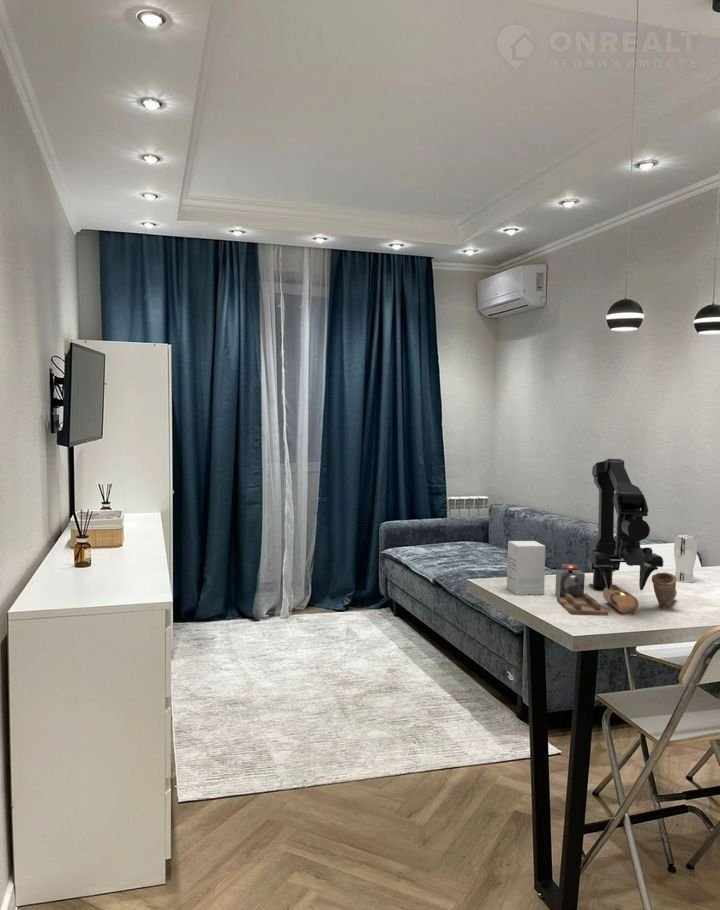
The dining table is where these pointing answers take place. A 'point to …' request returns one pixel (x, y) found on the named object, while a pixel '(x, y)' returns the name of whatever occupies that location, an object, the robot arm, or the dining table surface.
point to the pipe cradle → (582, 605)
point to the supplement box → (526, 567)
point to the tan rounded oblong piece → (621, 599)
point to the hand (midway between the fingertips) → (624, 589)
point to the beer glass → (685, 557)
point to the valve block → (569, 581)
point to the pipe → (664, 588)
